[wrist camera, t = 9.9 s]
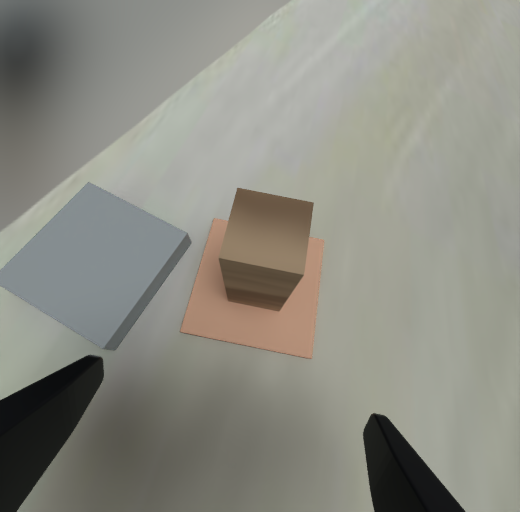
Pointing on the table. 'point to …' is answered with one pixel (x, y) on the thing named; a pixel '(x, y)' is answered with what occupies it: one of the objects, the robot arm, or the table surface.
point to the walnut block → (264, 248)
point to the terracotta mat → (249, 317)
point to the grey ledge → (96, 265)
